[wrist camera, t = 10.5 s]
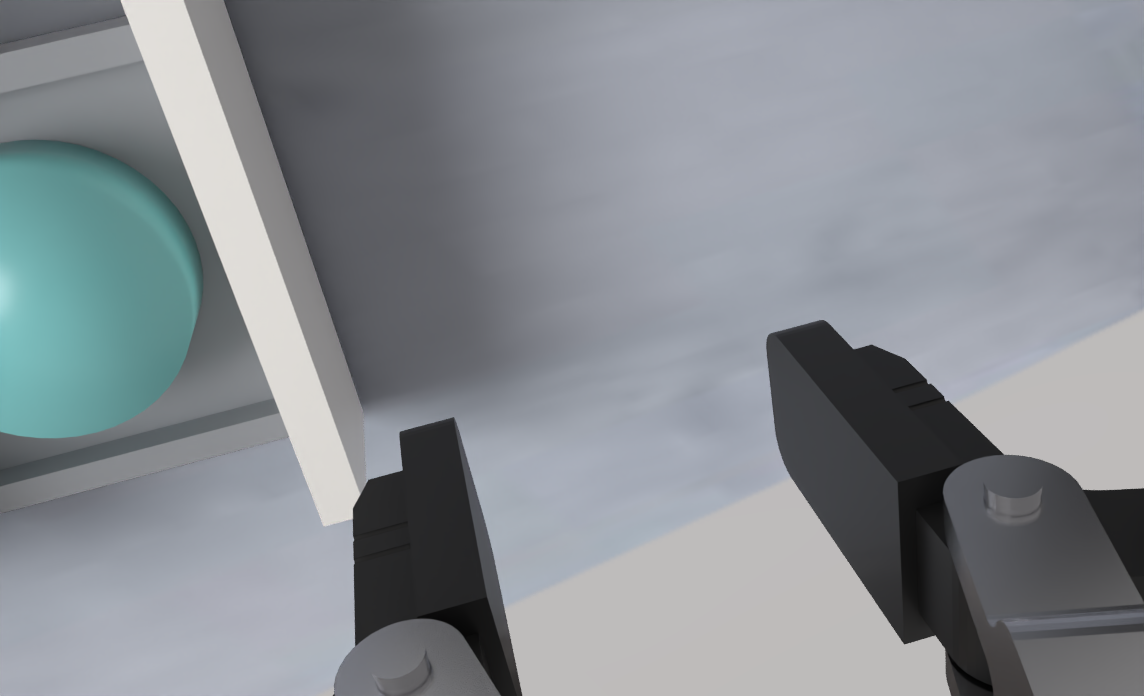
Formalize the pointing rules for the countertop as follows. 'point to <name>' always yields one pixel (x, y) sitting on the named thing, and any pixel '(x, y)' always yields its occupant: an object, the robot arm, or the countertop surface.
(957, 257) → the countertop surface
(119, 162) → the teal shallow dome
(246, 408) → the tray
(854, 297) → the countertop surface
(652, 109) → the countertop surface
